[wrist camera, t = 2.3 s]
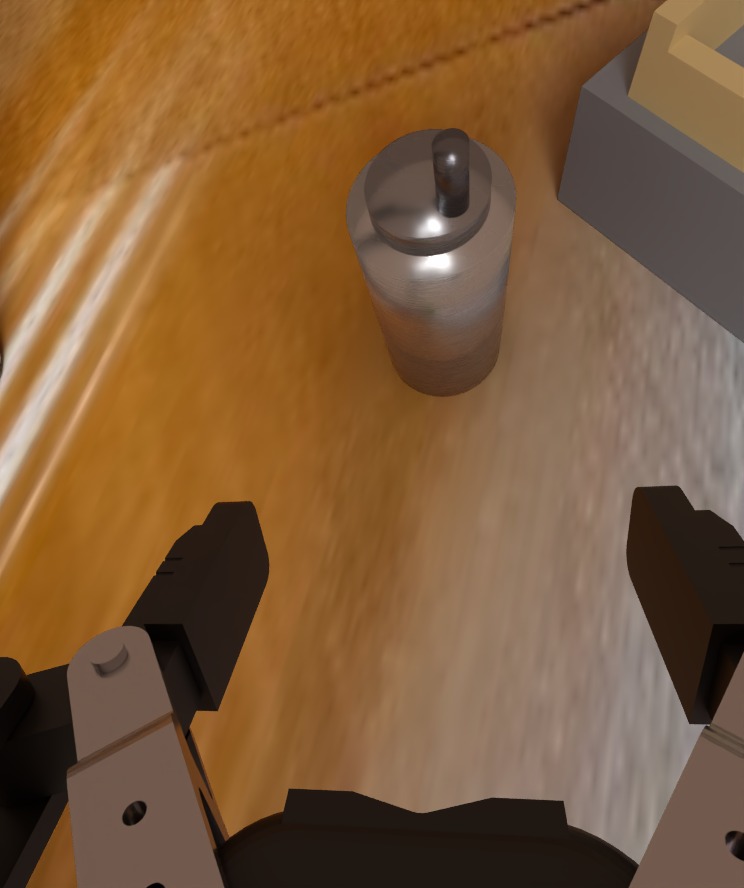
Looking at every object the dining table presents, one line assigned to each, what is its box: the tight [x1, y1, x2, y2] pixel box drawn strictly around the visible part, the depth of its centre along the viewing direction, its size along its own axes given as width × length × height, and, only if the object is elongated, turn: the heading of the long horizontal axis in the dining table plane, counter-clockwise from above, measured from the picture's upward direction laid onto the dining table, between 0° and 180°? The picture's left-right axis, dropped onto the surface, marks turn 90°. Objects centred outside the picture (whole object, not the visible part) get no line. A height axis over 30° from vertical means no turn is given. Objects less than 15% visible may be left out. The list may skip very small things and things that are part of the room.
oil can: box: [346, 128, 516, 397], centre depth 22 cm, size 6×6×14 cm
